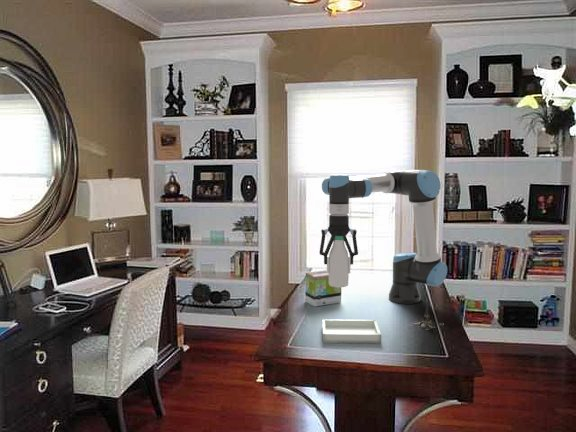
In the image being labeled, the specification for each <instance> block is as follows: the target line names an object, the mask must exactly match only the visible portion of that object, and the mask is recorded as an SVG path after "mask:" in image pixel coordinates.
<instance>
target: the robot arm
mask: <svg viewBox="0 0 576 432" xmlns="http://www.w3.org/2000/svg"><path fill="white" fill-rule="evenodd" d="M440 190H441V181H440V178H439V175H438V174H437V173H436V172H434V171H433V170H428V169H427V170H426V169H399V170H396V171H395V170H394V171H386V172H381V174H375V175H374V174H373V175H356V176H354V175H353V176H350V175H349V174H344V173H343V174H342V173H341V174H338V173H337V174H330V176H329V177H326V178H324V180H323V181H322V183H321V191H322V192H323V193H324V194H325V195H328V197H329V199H328V200H329V205H328V207H329V209H328V210H329V211H328V213H329V217H328V222H329V223H328V228H322V229H321V230H320V232H321V239H320V245H319V246H320V247H319V255H320V256H323V264H324V265H326V270H327V273H329V254H330V251H331V249H332V246H333V243H334V239H335V236H343V239H344V244H345V247H346V249H347V252H348V253H349V255H348V273H349V274H351V265H354V257H355V256H358V255H359V250H358V242H357V232H358V231H357V229H356V228H353V229H352V228H350V225H349V223H350V221H349V220H350V219H349V218H350V216H349V213H350V212H349V211H350V205H349V203H350V199H357V198H358V199H359V198H362V199H364V198H367V197H370V195H371V194H372V193H379V192H382V193H383V194H395V195H402V196H408V202H409V203H410V204H412V209H413V220H414V231H415V241H416V250H417V252H400V253H396V254H394V255H393V258H392V259H393V260H392V284H391V287H390V290H389V293H388V300H389V301H390V302H394V303H396V304H404V305H412V304H418V303H420V302H421V293H420V290H419V287H418V283H419V284H422V285H427V286H432V287H439V286H440V285H442V284H443V283H444V281H445V279H446V278H447V274H448V265H447V264H446V263H445V262H443V261H442V256H441V254H440V253H438V250H437V249H438V248H437V238H436V228H435V227H436V225H435V216H434V214H435V213H434V204H433V203H434V202H435V201H436V199H437V196H439V194H440ZM328 233H329V235H330V237H329V241H328V243H327V245H326V249H325V250H324V247H325V240H326V235H327V234H328ZM349 233H350V235H351V238H352V246H353V250H354V251H352V248H351V245H350V243H349V241H348V239H347V235H348V234H349Z"/></svg>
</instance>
